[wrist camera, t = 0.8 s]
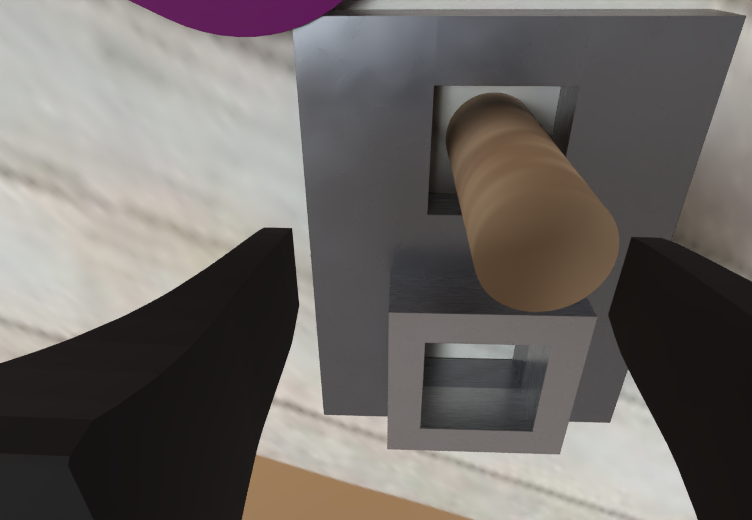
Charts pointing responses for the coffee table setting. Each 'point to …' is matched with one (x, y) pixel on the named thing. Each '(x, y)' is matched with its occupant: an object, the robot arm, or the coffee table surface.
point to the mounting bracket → (240, 14)
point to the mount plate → (444, 217)
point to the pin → (526, 209)
